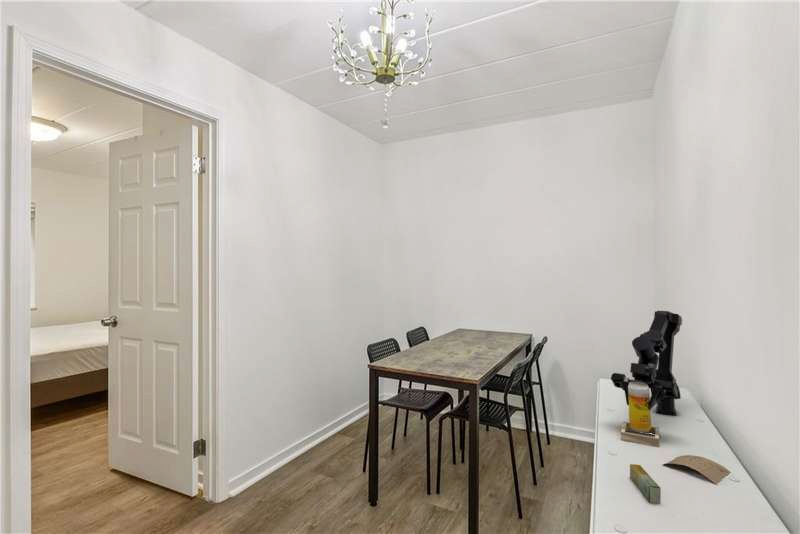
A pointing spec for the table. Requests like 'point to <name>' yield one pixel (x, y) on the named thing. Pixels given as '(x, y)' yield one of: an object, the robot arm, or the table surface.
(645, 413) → the beer can
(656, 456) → the table surface
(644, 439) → the tray
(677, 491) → the table surface
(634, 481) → the medication box
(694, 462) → the curved brown cardboard
